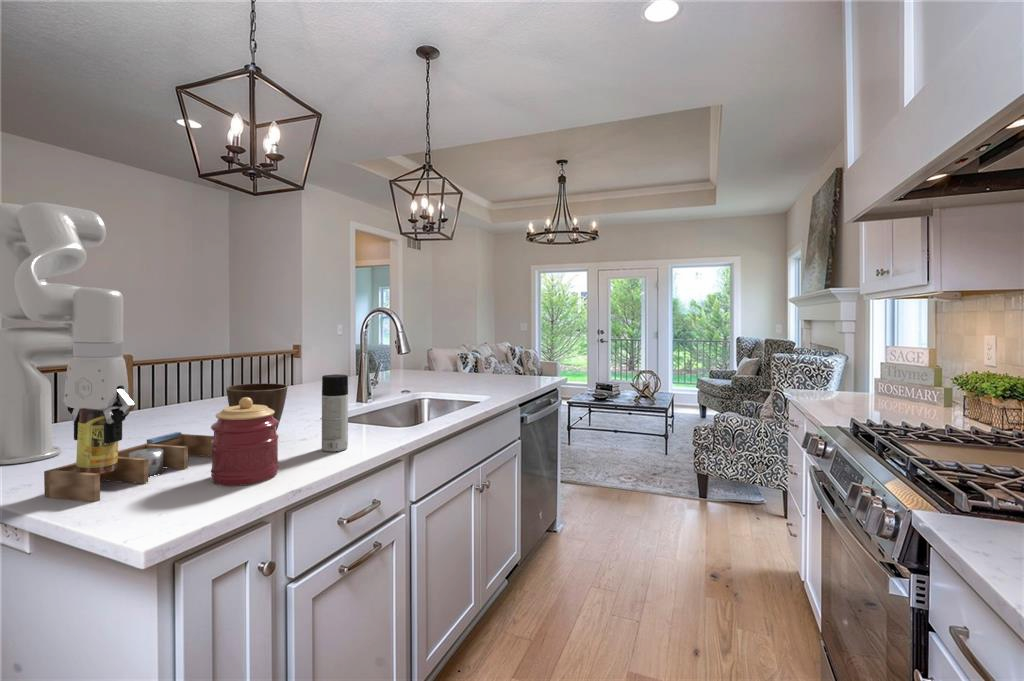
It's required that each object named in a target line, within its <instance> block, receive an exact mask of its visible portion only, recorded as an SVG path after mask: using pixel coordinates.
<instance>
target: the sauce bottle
mask: <svg viewBox="0 0 1024 681" xmlns="http://www.w3.org/2000/svg"><path fill="white" fill-rule="evenodd" d="M113 406H114V404H113ZM113 406H112V407H113ZM115 413H116V412H115V410H112V414H113V415H114V414H115ZM106 423H107V420H106V417H105V414H104V412H103V410H88V409H84V408H83V409H80V410H79V421H78V437H77V440H76V459H75V460H76V461H75V463H76V466H77V472H84V473H96V474H100V475H102V474H107V473H110V472H112V471H114V470H115V469H116V464H117V461H118V451H119V441H117V442H113V443H109V444H106V443H104V424H106Z"/></svg>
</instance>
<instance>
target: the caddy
mask: <svg viewBox="0 0 1024 681" xmlns="http://www.w3.org/2000/svg"><path fill="white" fill-rule="evenodd" d="M213 438H214V435H205V434H203V435H202V434H190V433H189V434H188V433H182V432H181V431H179V432H178V431H174V432H172V433H171V432H169V433H168V434H164V435H160V436H156V437H152V438H148V439H146V442H145V443H143V444H139V445H135V446H132V447H127V448H125V449H122V450H118V461H117V464H116V469H115V470H114V471H112V472H110V473H107V474H102V475H100V474H96V473H84V472H77V466H76V462H72V463H70V464H69V463H68V464H66V465H62V466H58V467H55V468H51V469H47V470H45V471H43V474H44V475H43V478H44V480H43V483H44V498H49V497H50V499H51V498H52V499H62V500H69V499H70V500H72V501H80V500H82V501H81V502H91V501H92V503H93V502H94V503H96V502H98V501H100V500H101V482H103V481H102V480H109V481H108V482H115V481H121V482H120V483H126V482H136V483H135V484H138V483H145V484H147V483H146V482H148V483H149V478H148V459H143V458H130V457H129V453H131V452H133V451H137V450H142V449H151V448H159V449H163V467H167V468H166V469H173V468H177V469H176V470H186V468H187V469H189V460H188V458H189V457H188V456H194V455H197V456H198V457H208V456H212V444H211V441H212V440H213ZM197 456H196V457H197ZM83 500H84V501H83ZM95 501H96V502H95Z"/></svg>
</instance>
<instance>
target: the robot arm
mask: <svg viewBox="0 0 1024 681" xmlns="http://www.w3.org/2000/svg"><path fill="white" fill-rule="evenodd" d="M106 228H107V227H106V225H105V222H104V220H103V218H101V216H100V215H99V214H98V213H96V212H94V211H92V210H90V209H84V208H79V207H74V206H67V205H61V204H57V203H50V202H32V203H27V204H25V205H24V204H18V203H16V204H15V203H9V202H8V203H7V202H0V317H1V318H3V319H6V320H9V321H19V322H21V321H22V322H23V321H24V322H35V323H41V324H59V326H35V325H34V326H30V325H29V326H22V325H21V326H8V327H3V328H0V465H16V464H24V463H31V462H36V461H40V460H46V459H50V458H54V457H55V456H58V455H60V454H61V452H62V449H61V447H59V446H54V445H53V425H52V424H53V421H52V420H53V418H52V417H53V413H52V411H53V410H52V406H53V405H52V385H51V382H50V379H49V378H48V377H47V376H46V375H44V374H43V373H42V372H41V371H40V370H39V369H38V368H37V367H41V366H54V365H55V366H57V365H58V366H59V365H67V367H66V368H67V369H66V375H65V381H64V382H65V383H64V397H63V398H62V400H61V401H62V403H63V404H64V405H65V407H66V408H67V411H68V412H69V414H70V419H71V420H72V421H73V440H74V441H77V437H78V421H79V410H80V409H83V408H84V409H88V410H103V412H104V414H105V417H106V420H107V423H106V424H104V443H106V444H109V443H113V442H117V441H118V442H119V441H122V440H123V422H124V421H125V420H126V417H127V416H129V414H130V412H131V411H133V409H134V408H135V407H136V404H135V403H134V401H133V400H132V398H130V396H129V380H128V378H129V377H128V370H127V365H126V360H125V358H124V296H123V293H121V292H120V291H119V290H116V289H110V288H100V287H92V286H91V287H89V286H87V287H86V286H78V285H77V286H76V285H73V284H67V283H55V282H54V283H52V282H47V281H46V279H48V278H54V277H58V276H61V275H65V274H68V273H72V272H75V271H77V270H78V269H79V270H80V268H82V267H83V266H84V265H85V263H86V261H87V257H88V256H87V251H86V250H85V249H88V248H90V249H92V248H97V247H99V246H101V245H102V244H103V243H104V242H105V240H106V236H107V229H106ZM113 404H114V406H113ZM112 406H113V407H112ZM112 410H115V412H116V413H115V414H114V415H113V414H112Z"/></svg>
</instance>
